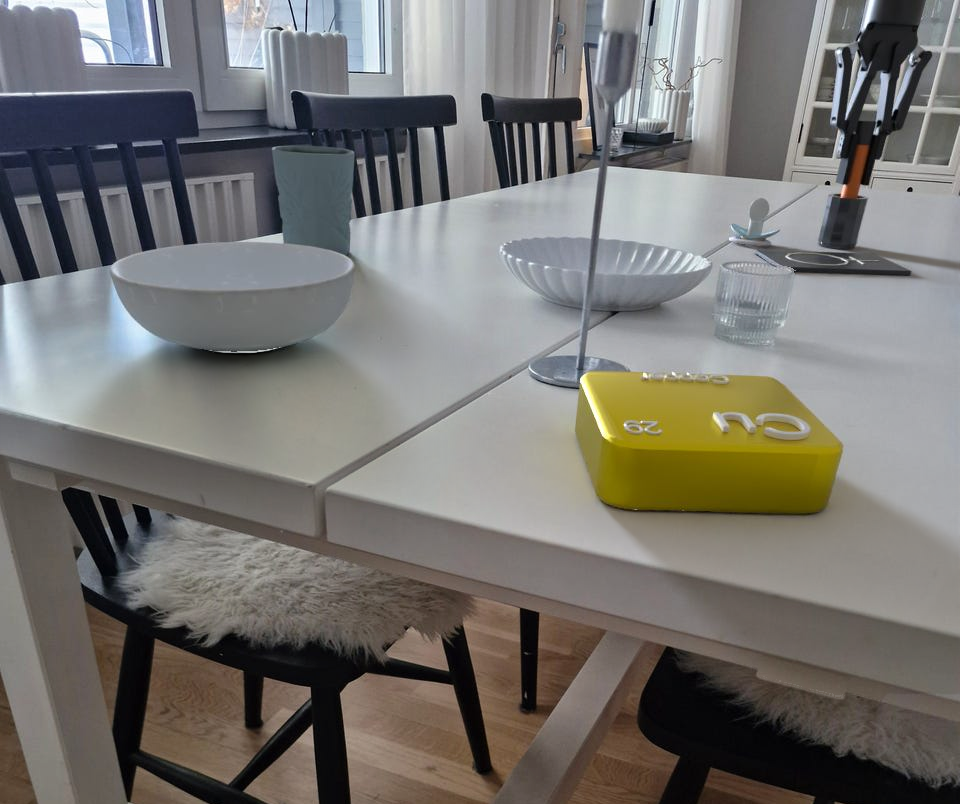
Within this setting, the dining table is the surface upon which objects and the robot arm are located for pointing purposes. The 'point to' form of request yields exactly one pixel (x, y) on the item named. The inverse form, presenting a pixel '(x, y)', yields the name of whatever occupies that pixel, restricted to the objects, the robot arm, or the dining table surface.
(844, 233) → the pen pot
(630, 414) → the element tile
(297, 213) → the green vase
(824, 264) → the slate board
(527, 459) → the dining table surface
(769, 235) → the pacifier
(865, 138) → the marker
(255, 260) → the serving bowl
